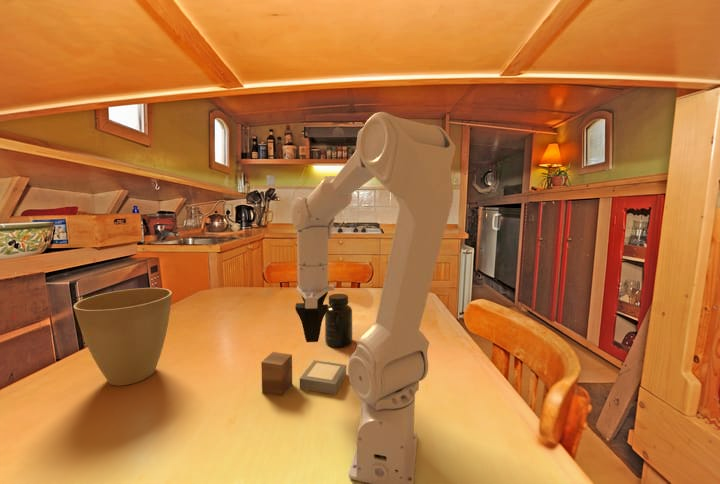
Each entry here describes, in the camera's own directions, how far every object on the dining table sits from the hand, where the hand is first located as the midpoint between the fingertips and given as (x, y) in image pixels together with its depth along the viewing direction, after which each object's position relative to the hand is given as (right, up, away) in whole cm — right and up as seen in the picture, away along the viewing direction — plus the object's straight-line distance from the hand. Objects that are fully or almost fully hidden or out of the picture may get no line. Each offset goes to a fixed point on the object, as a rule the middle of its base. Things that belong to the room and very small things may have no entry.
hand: (313, 332), depth 58 cm
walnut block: (-6, -10, -2) cm, 12 cm away
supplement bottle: (+4, -8, +18) cm, 20 cm away
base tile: (+2, -10, +1) cm, 10 cm away
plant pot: (-36, -9, +2) cm, 38 cm away
